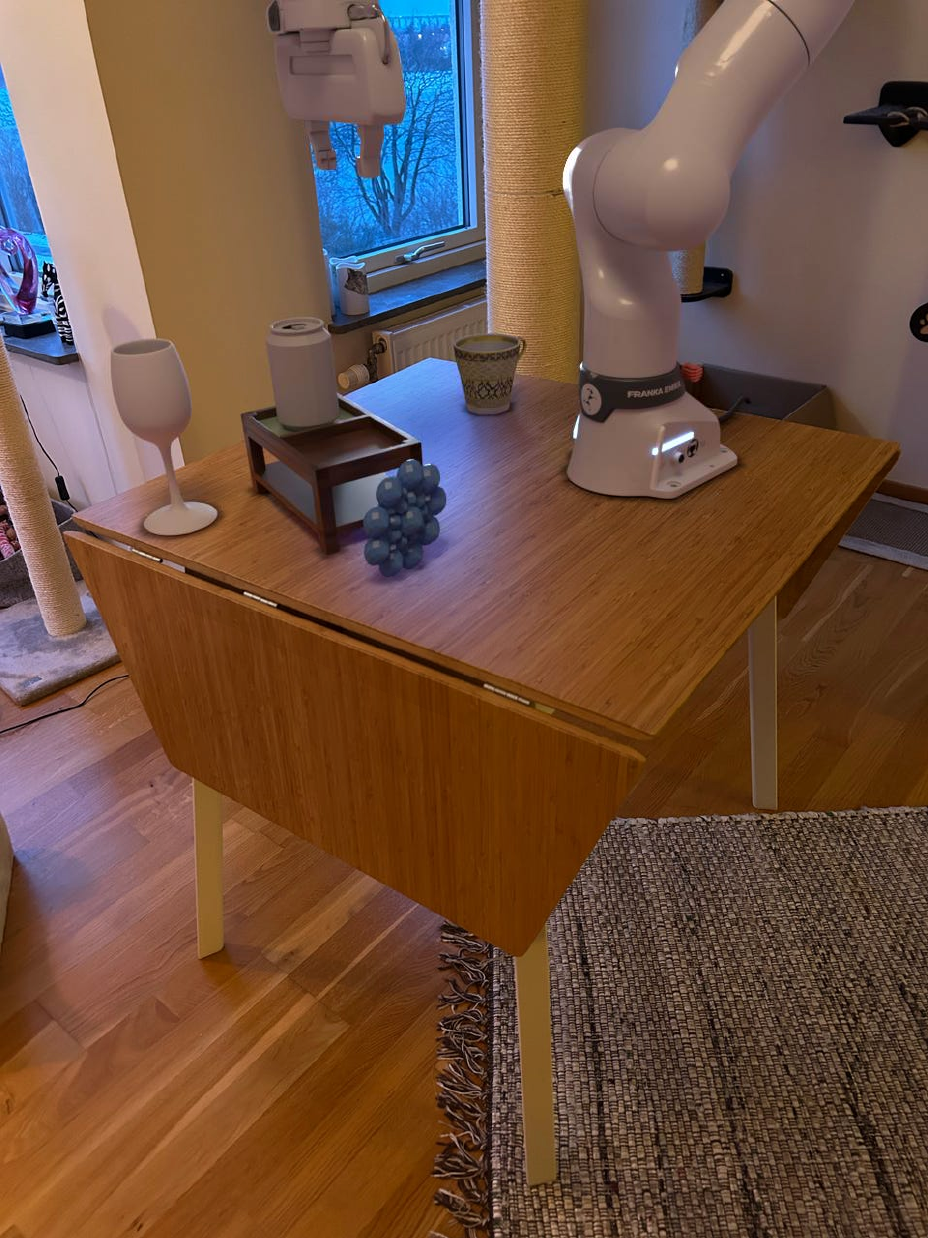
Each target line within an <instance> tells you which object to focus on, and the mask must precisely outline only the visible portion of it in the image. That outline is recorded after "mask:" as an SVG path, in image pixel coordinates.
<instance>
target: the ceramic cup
mask: <svg viewBox="0 0 928 1238" xmlns="http://www.w3.org/2000/svg"><path fill="white" fill-rule="evenodd" d="M521 342H522V343H521ZM521 344H522V349H521ZM452 346H453V347H452V348H453V351H454V357H455V358H454V359H455V362H456V366H457V370H458V373H459V376H460V381H461V382H460V383H461V386H462V391H463V396H464V401H465V405H466V409H467V411H468V412H470V413H472V414H476V415H481V416H482V415H498V414H501V413H504V412H506V411H509V410H510V405H511V401H512V400H511V399H512V392H513V386H514V380H515V374H516V371H517V367H518V363H519V362H520V360H521V359H522V357H523V356H524V355H525V353H526V350H527V341H526V338H524V337H522V336H515V335H510V334H506V333H498V332H497V333H496V332H495V333H494V332H487V333H485V332H484V333H475V334H469V335H465V336H462V337H459V338H457V339H456V340H455V341H454V342H453V343H452Z"/></svg>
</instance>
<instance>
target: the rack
mask: <svg viewBox="0 0 928 1238" xmlns="http://www.w3.org/2000/svg"><path fill="white" fill-rule="evenodd" d="M337 394H338V403H339V412H340V413H339V416H338V417H337V418H336V419H335V420H334V422H333V423H329V424H325V425H321V426H317V427H313V428H309V429H305V430H301V431H296V430H291V429H289V428H287V427H286V426H285V425H284V424H282V423H281V422H279V420H278V418H277V411H276V405H273V406H269V407H264V408H260V409H256V410H251V411H245V412H242V413H240V414H239V415H240V421H241V425H242V432H243V439H244V443H245V448H246V454H247V460H248V465H249V466H248V467H249V471H250V476H251V477H250V478H251V483H252V488H253V491H254V492H255V493H257V494H258V495H259V494H263V493H267V492H269V493H271V494H272V495H273V496H274V497H275V498H277V499H278V500H279V501H280V502H281V503H282V504H284V505H285V506H286V507H287V508H288V509H289V510H290V511H292V513H294V514H295V515H296V516H298V517H299V518H300V519H301V521H303V522H304V523H305V524H307V526H309V527H310V528H311V529H312V530H313V531H315V533H317V534H318V540H319V548H320V551H321V552H322V553H324V554H325V555H326V556H328V555H331V554H335V553H338V552H340V544H339V536H340V535H343V534H345V533H349V532H353V531H355V530H359V529H362V528H363V521H364V516H365V515H366V513H367V512H368V511H369V510H370V509H372V508H373V507H376V506H377V505H378V504H379V503H378V501H377V498H376V491H377V486H378V485H379V484H380V482H381V481H382V480H383V479H385V478H386V477H389V475H387V474H386V473H387V472H391V471H394V470H398V469H399V468H400V466H401V465H402V464H403V463H404V462H406V461H407V460H412V459H414V460H416V461H418V462H419V463H420V464H421V466H422V467H423V466H424V459H423V446H422V441H421V440H419V439H417V438H416V437H414V436H412V435H410V434H408V432H405V431H403V430H402V429H400V428H398V427H396V426H394V425H393V424H391V423H390V422H388V421H387V420H384V418H381V417H379V416H378V415H376V414H374V413H372V412H371V411H369V410H367V409H366V408H364V407H362V406H360V404H359V405H358V404H357V403H355V402H354V401H352V400H350V399H349V398H346V397H345V396H343V395H341V394H340V393H338V392H337ZM264 450H266V451H267V452H268V453H269V454H271V455H273V457H275V458H276V459H277V461H274V462H270V463H266V460H265V455H264Z"/></svg>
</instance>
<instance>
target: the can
mask: <svg viewBox="0 0 928 1238" xmlns="http://www.w3.org/2000/svg"><path fill="white" fill-rule="evenodd" d="M324 324H325V322H324V321H323V320H322V319H320V318H317V317H307V316H303V317H302V316H301V317H291V318H290V317H289V318H285V319H284V318H283V319H279V320H276V321H274V322H272V323H271V324H270V325H269V327H268V328H269V330H270V333H269V334H268V335H267V337H266V338H265V345H266V351H267V358H268V359H267V360H268V366H269V371H270V379H271V385H272V391H273V398H274V404H275V405H274V406H276V411H277V418H278V420H279V422H281V423H282V424H284V425H285V426H286V427H287V428H289V429H291V430H296V431H301V430H305V429H309V428H313V427H317V426H321V425H325V424H329V423H333V422H334V420H335V419H336V418H337V417H338V416H339V413H340V412H339V403H338V394H339V393H338V387H337V386H338V385H337V378H336V370H335V360H334V351H333V344H332V336H331V335H332V334H331V333H330V331H328V330H327V329H326V328H325V327H324ZM337 393H338V394H337Z"/></svg>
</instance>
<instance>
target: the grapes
mask: <svg viewBox="0 0 928 1238" xmlns="http://www.w3.org/2000/svg"><path fill="white" fill-rule="evenodd" d="M440 474H441V473H440V470H439V469H438V466H437V465H435V464H433V463H426V464H423V467H422V466H421V464H420V463H419V462H418V461H416V460H414V459H412V460H407V461H406V462H404V463H403V464H402V465H401V466H400V468H398V469H397V472H396V476H395V475H390V476H389V475H388V476H389V477H386V478H385V479H383V480H382V481H381V482H380V484H379V485H378V486H377V491H376V498H377V501H378V503H379V504H378V505H377V506H376V507H373V508H372V509H370V510H369V511H368V512H367V513H366V515H365V516H364V521H363V531H364V533H365V535H366V537H368V540H367V542H366V543H365V545H364V549H363V554H364V559H365V561H366V563H367V564H368V565H370V566H373V567H375V566H377V567H378V572H379V573H380V575H381V576H382V577H384V578H387V579H388V578H393V577H395V576H396V575H398V574H399V573H400V572H401V570H402V569H405V570H413V569H415V568H416V567H417V566H419V564H420V563H421V562H422V560H423V557H424V546H428V545H431V544H433V543H434V542H435V541H436V540H437V538H439V535H440V532H441V531H440V530H441V527H440V522H439V520H438V519H437V517H436V516H437V515H439V514H440V513H441V512H443V510H444V509H445V507H446V505H447V494H446V492H445V490H444V488H443V487H441V486H439V485H440V481H441V475H440Z"/></svg>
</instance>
